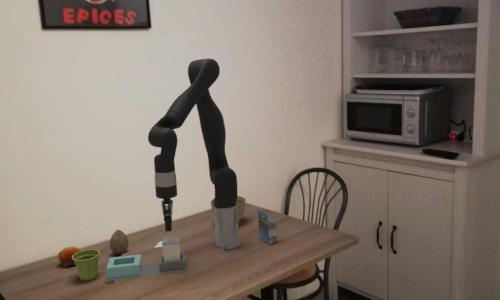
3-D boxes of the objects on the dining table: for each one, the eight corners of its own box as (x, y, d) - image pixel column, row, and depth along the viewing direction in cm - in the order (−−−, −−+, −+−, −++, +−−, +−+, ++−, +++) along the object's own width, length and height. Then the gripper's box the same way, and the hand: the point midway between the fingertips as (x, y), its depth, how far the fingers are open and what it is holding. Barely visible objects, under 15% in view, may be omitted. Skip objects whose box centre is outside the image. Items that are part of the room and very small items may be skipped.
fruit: (60, 268, 170) (57, 247, 173) (60, 271, 177) (57, 251, 179) (83, 263, 174) (80, 242, 176) (82, 266, 181) (78, 247, 183)
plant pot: (102, 280, 162) (99, 257, 161) (73, 285, 160) (70, 261, 158) (102, 269, 171) (100, 247, 169) (75, 274, 168) (72, 251, 167)
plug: (180, 262, 171) (178, 237, 169) (181, 267, 167) (179, 241, 165) (164, 264, 170) (162, 239, 168) (164, 269, 166) (162, 243, 164)
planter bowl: (211, 218, 222) (210, 197, 220) (244, 216, 223) (243, 194, 221) (212, 230, 206) (211, 207, 204) (248, 227, 207) (247, 204, 205)
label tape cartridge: (277, 242, 188) (276, 214, 186) (268, 244, 186) (267, 215, 184) (266, 236, 196) (265, 208, 194) (258, 238, 194) (257, 210, 192)
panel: (186, 260, 175) (185, 248, 174) (187, 274, 164) (186, 261, 163) (110, 268, 171) (109, 256, 170) (106, 283, 160) (104, 270, 159)
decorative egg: (120, 248, 190) (118, 225, 188) (133, 251, 186) (130, 228, 184) (107, 255, 184) (104, 231, 182) (120, 258, 180) (117, 234, 178)
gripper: (176, 187, 157) (179, 232, 160) (176, 177, 170) (179, 219, 173) (154, 189, 156) (157, 234, 158) (155, 179, 169) (159, 221, 172)
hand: (168, 226), depth 166 cm, fingers open, 8 cm apart
